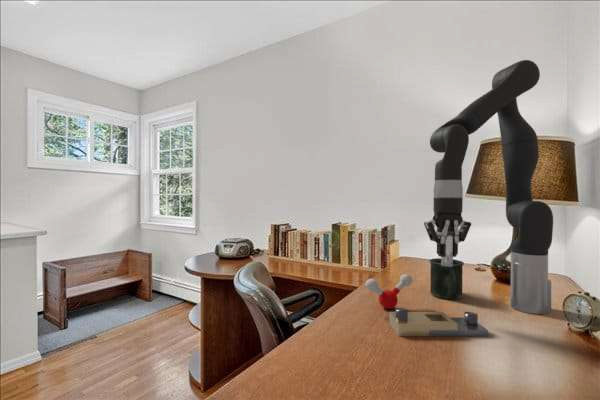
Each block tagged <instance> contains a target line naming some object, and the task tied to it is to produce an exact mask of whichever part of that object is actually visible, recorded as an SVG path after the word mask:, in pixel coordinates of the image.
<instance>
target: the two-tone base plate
mask: <svg viewBox="0 0 600 400" xmlns="http://www.w3.org/2000/svg"><path fill="white" fill-rule="evenodd" d="M388 317H389V318H388V320H389V321H388V323H389V324H390V326H391V328H393V330H394V332H395V333H396V334H397V336H398V337H400V336H401V337H488V336H489V330H488V329H487V328H486V327H485V326H483V325H481V324H480V323H479V322H478V321H479V320H478V318H479V316H478V314H477V313H476V312H472V311H465V312H464V317H449V315H447V314H446V313H445V312H444V311H408V309H407V308H404V307H396V308H395V311H389V313H388Z"/></svg>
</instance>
